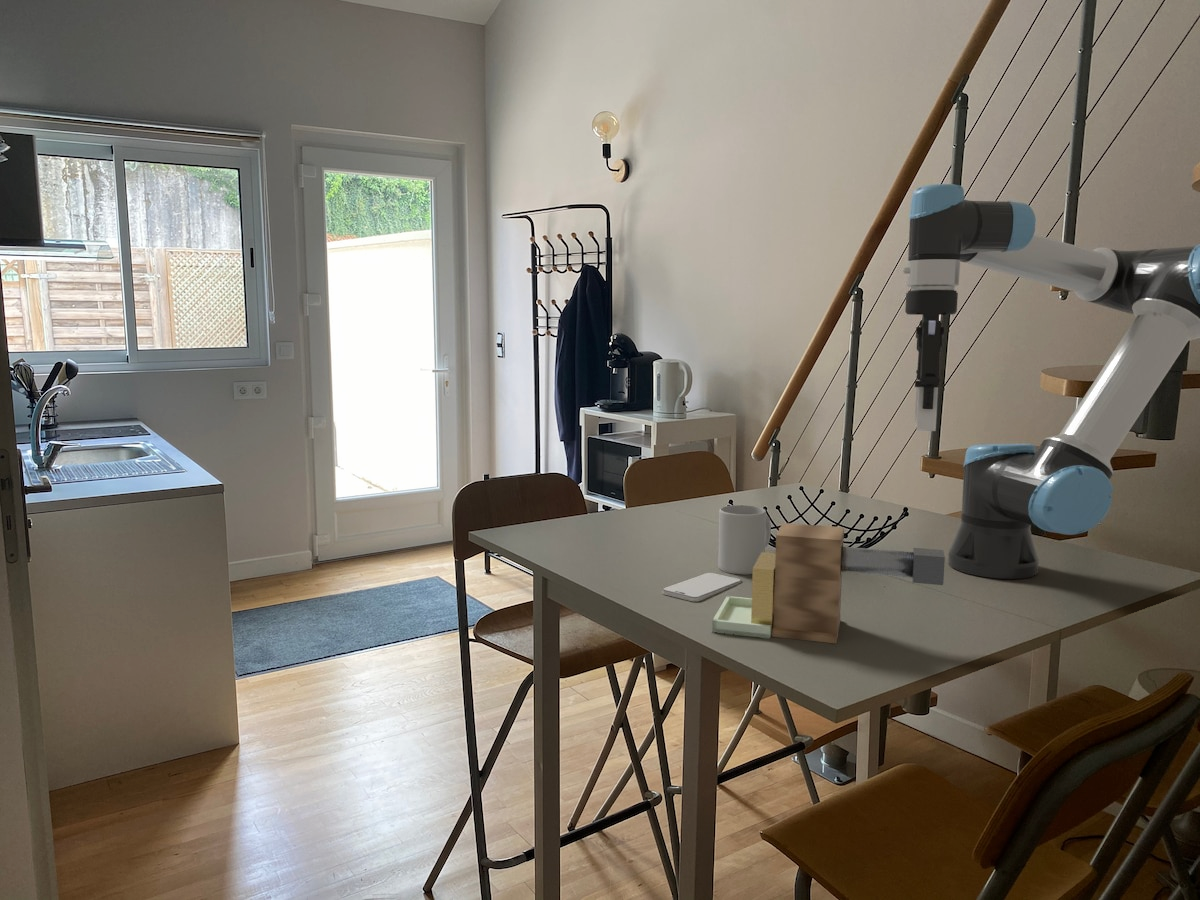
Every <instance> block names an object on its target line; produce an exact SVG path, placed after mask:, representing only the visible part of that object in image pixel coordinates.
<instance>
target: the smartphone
mask: <svg viewBox="0 0 1200 900" xmlns="http://www.w3.org/2000/svg"><path fill="white" fill-rule="evenodd" d="M741 583H742V579H740V578H737V577H732V576H727V575H724V574H719V573H715V572H704V573H703V574H702V573H701V574H700V575H697V576H693V577H692V578H688V579H685V580H683V581H680V582H677V583H674V584H672V585H668V586H665V587H663V588H662V590H661V591H662V595H665V596H669V597H672V598H675V599H680V600H681V599H682V600H685V601H687V602H688V601H689V602H694V603H695V602H700V601H702V600H705V599H707V598H710V597H712V596H715V595H717V594H719V593H721V592H723V591H725V590H727V589H730V588H732V587H735V586H736V585H738V584H741Z"/></svg>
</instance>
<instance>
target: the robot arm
mask: <svg viewBox="0 0 1200 900" xmlns="http://www.w3.org/2000/svg"><path fill="white" fill-rule="evenodd" d="M965 198H966V197H965V189H964V187H963V186H962V185H960V184H953V183H937V184H936V183H935V184H930V185H929V184H928V185H924V186H923V185H922V186H920V187H918V188H917V187H916V189H915V190H914V191H913V193H912V195H911V202H910V209H909V210H910V211H909V215H908V219H909V231H908V232H909V235H908V253H907V254H908V257H907V260H908V264H907V265H908V266H907V267H903V271H902V272H903V274H907V275H908V276H907V279H906V281H907V282H906V286H907V287H909V288H910V290H907V292H906V294H905V307H904V308H905V309H904V311H905V314H906V315H915V316H916V315H920V316H921V315H922V319H921V320H920V321H919V326H915V329H916V330H915V338H916V351H917V352H918V356H917V357H918V358H917V369H916V370H915V371H916V372H915V373H916V377H915V378H916V380H914V381H915V382H914V387H915V402H914V421H916V429H915V430H916V431H921V432H922V431H924V432H925V431H926V432H937V431H936V430H937V413H938V395H939V387H938V386H939V383H940V354H941V352H942V348H943V339H944V334H945V327H944V326H942V321H941V320H940V316H941V315H944V316H946V315H947V316H948V315H951V316H953V315H955V314H956V313H957V310H958V298H959V297H958V295H959V294H958V293H959V292H957V290H955V287H958V286H959V285H960V269H961V262H962V263H966V264H969V265H973V266H975V267H980V268H984V269H988V270H992V271H995V272H999V273H1003V274H1006V275H1010V276H1013V277H1017V278H1021V279H1025V280H1029V281H1033V282H1037V283H1041V284H1043V285H1048V286H1052V287H1056V288H1058V289H1059V288H1060V289H1063V290H1066V291H1071V292H1074V294H1075V295H1076V296H1077V298H1079V299H1080V300H1082V301H1085V302H1088V303H1091V304H1095V305H1099V306H1103V307H1105V308H1108V309H1113V310H1116V311H1119V312H1122V313H1126V314H1131V315H1134V317H1135V318H1134V320H1133V322H1132V323H1131V325H1130V326H1129V328H1128V330H1126V332H1125V333H1124V336H1123V337H1122V338H1121V340H1120V342H1119V343H1118V344H1117V346H1116V348H1115V349H1114V350H1113V352H1112V354H1111V355H1110V357H1109V358H1108V360H1107V361H1106V363H1105V364H1104V365H1103V367H1102V369H1101V370H1100V372H1099V374H1097V376H1096V378H1095V379H1094V381H1093V383H1092V384H1091V386H1090V387H1089V388H1088V390H1087V391H1086V393H1085V394H1084V396H1083V397H1082V399H1081V401H1080V402H1079V404H1078V405H1077V407H1076V408H1075V410H1074V411H1073V413H1072V414H1071V416H1070V417H1069V419H1068V420H1067V422H1065V423H1066V424H1065V425H1064V426H1063V428H1062V430H1061V431H1060V432H1059V434H1057V435H1053V436H1048V437H1045V438H1044V439H1043V441H1042V442H1041V444H1040V445H1039V447H1038V448H1037V447H1036V446H1037V445H1035V444H1032V443H989V444H988V443H987V444H986V443H984V444H983V443H982V444H974V445H973V444H972V445H970V446H969V447H968V448H967V450H966V452H965V455H964V456H965V458H964V462H963V476H962V477H963V478H962V479H963V481H962V496H961V497H962V499H961V515H960V524H959V527H958V528H957V531H956V534H955V536H954V539H953V542H952V543H951V545H950V549H949V551H948V559H947V560H948V565H949V566H950V567H951V568H953V569H955V570H957V571H959V572H962V573H964V574H969V575H974V576H976V577H977V576H978V577H984V578H991V579H992V578H993V579H1002V580H1004V579H1006V580H1008V579H1010V580H1012V579H1015V580H1016V579H1018V580H1019V579H1027V578H1028V579H1029V578H1031V577H1034V575H1035V576H1037V575H1038V573H1039V557H1038V553H1037V549H1036V546H1035V543H1034V538H1033V535H1032V531H1031V527H1032V526H1033V527H1037V528H1039V529H1041V530H1043V531H1045V532H1049V533H1055V534H1061V535H1067V536H1068V535H1069V536H1073V535H1078V534H1083V533H1085V532H1088V531H1090V530H1091V529H1094V527H1097V525H1099V524H1100V523H1101V522H1102V521H1103V519H1104V518H1105V517H1106V515H1107V514H1108V513H1109V510H1110V509H1111V505H1112V503H1113V497H1112V496H1111V495H1112V494H1113V492H1114V490H1113V485H1112V482H1111V481H1110V479H1111V478H1112V476H1113V475H1114V471H1113V470H1114V469H1113V467H1112V464H1111V459H1112V458H1113V456H1114V455H1115V453H1116V452H1117V450H1118V448H1119V447H1120V446H1121V444H1122V442H1123V441H1124V440H1125V438H1126V436H1127V435H1128V434H1129V432H1130V430H1131V429H1132V427H1133V426H1134V424H1135V423H1136V421H1137V420H1138V418H1139V417H1140V415H1141V414H1142V412H1143V410H1144V409H1145V408H1146V406H1147V405H1148V403H1149V401H1151V399H1152V397H1153V395H1154V394H1155V393H1156V391H1157V389H1158V388H1159V386H1160V385H1161V384H1162V381H1163V380H1164V379H1165V377H1166V376H1167V374H1168V373H1169V371H1170V370H1171V368H1172V366H1173V365H1174V364H1175V362H1176V360H1177V359H1178V357H1179V356H1180V355H1181V353H1182V351H1183V350H1184V349H1185V347H1186V345H1187V344H1188V342H1189V341H1190V342H1191V341H1194V340H1197V339H1198V340H1199V339H1200V244H1199V243H1198V244H1197V245H1191V246H1181V247H1180V246H1178V247H1163V248H1151V249H1143V250H1142V249H1141V250H1140V249H1139V250H1118V249H1117V250H1116V249H1112V248H1109V247H1102V246H1101V247H1096V248H1094V249H1090V248H1085V247H1081V246H1078V245H1075V244H1072V243H1071V244H1070V243H1068V242H1065V241H1062V240H1057V239H1053V238H1050V237H1046V236H1043V235H1039V234H1036V233H1035V231H1036V223H1037V220H1036V215H1035V212H1034V210H1033V208H1032V207H1031V206H1030V205H1028V204H1027V203H1024V202H1018V201H1017V202H1016V201H1012V200H1007V201H1005V200H1004V201H1003V200H1002V201H997V200H996V201H993V200H992V201H991V200H989V201H988V200H968V199H965Z"/></svg>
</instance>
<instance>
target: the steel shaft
mask: <svg viewBox="0 0 1200 900" xmlns="http://www.w3.org/2000/svg"><path fill="white" fill-rule="evenodd" d="M912 550H913V551H904V550H903V551H901V550H892V549H891V550H889V549H878V548H877V549H876V548H865V547H864V548H863V547H854V546H853V547H850V546H843V547H841V568H840V571H841V572H842V573H854V574H855V573H856V574H865V575H874V576H875V575H877V576H878V575H880V576H887V577H888V576H889V577H900V578H901V577H902V578H910V579H912V584H913V583H914V584H924V585H925V584H927V585H936V586H944V575H945V561H946V556H945V552H944V549H934V548H922V547H921V548H920V547H913V549H912Z"/></svg>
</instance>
